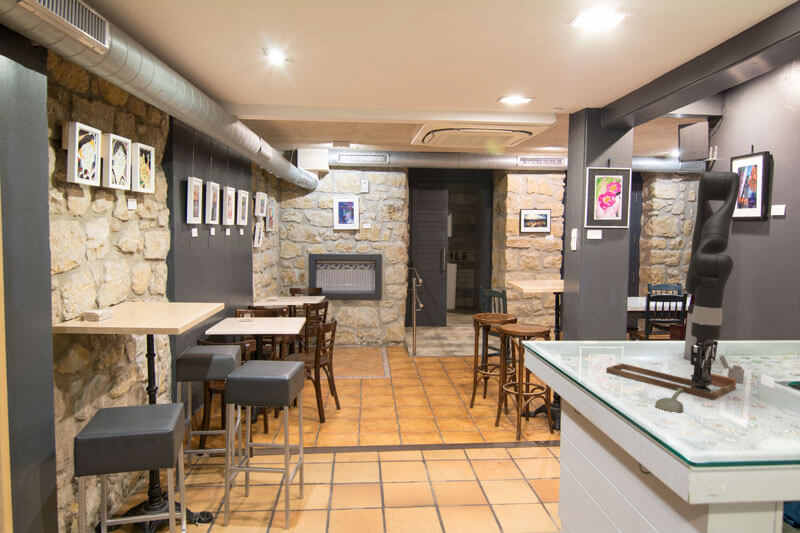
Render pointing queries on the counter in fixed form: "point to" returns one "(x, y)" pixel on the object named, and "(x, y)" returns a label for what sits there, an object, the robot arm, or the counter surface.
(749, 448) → the counter surface
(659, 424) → the counter surface
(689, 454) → the counter surface
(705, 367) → the salt shaker
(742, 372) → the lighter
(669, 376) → the track
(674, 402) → the soupspoon
